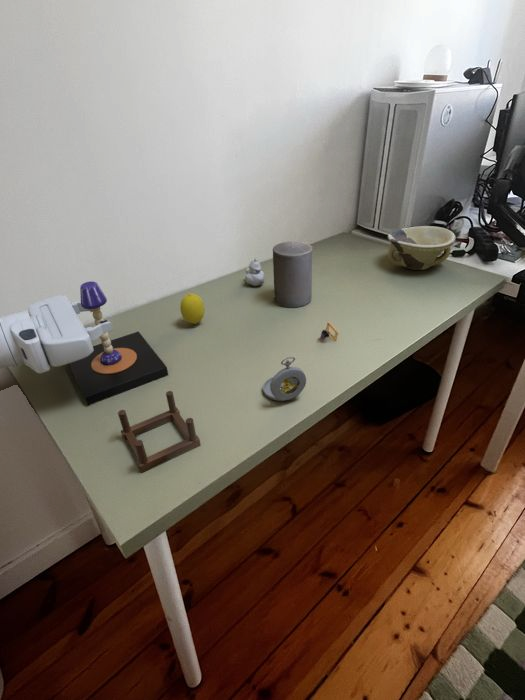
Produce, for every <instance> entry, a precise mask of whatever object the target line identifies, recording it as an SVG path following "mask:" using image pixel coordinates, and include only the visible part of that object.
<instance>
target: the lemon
mask: <svg viewBox="0 0 525 700" xmlns="http://www.w3.org/2000/svg"><path fill="white" fill-rule="evenodd" d="M179 309H180V315H181V316H182V318H183V320H184V321H186V322H187V323H189V324H193V325H196V324H197V323H199V322H201V321H202V320H203V319H204V317H205V311H206V310H205V309H206V308H205V304H204V302H203V300H202V298H201V297H200V296H199V295H197V294H195V293H191V292H190V293H187V294H186V295H184V296H183V297H182V299H181V301H180V307H179Z"/></svg>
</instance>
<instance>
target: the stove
mask: <svg viewBox="0 0 525 700" xmlns="http://www.w3.org/2000/svg"><path fill="white" fill-rule="evenodd" d="M110 341H111V345H112V347H113V350H117V351H118V352H120V354H121V355H122V358H121V360H120V361H119V362H117V363H115V364H113V365H103V364H102V363H101V361H100V358H101V355H102V354H103V353H104V352H105V351H104V346H103V345H102V342H101V343H98V344H95V345H92V346H93V349H94V351H93V352H92V353H91V354H90V355H89V356H88V357H86V358H83V359H80V360H78V361H75V362H72V363H69V364H68V367H69V368H70V370H71V373H72V375H73V378H74V379H75V381H76V384H77V386H78V388H79V391H80V393H81V394H82V397H83V399H84V401H85V403H86V406H88V407H89V406H91V405H93V404H96V403H98V402H101V401H104V400H106V399H109V398H111V397H114V396H117V395H120V394H122V393H124V392H127V391H130V390H132V389H135V388H138V387H140V386H143V385H146V384H149V383H151V382H153V381H157V380H159V379H161V378H164V377H167V376H169V371H168V367H167V365H166V364H165V363H164V362H163V360H162V359H161V358H160V356H159V355H158V354H157V353H156V352H155V350H154V349H153V347H151V345H150V344H149V343H148V341H147V340H146V339H145V338H144V336H143V335H142V334H141V332H140V331H138V330H137V331H135V332H132V333H129V334H125V335H123V336H120V337H117V338H114V339H110Z"/></svg>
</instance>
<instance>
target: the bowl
mask: <svg viewBox="0 0 525 700" xmlns="http://www.w3.org/2000/svg"><path fill="white" fill-rule="evenodd" d="M456 237H457V236H456V235H455V233H454V232H453V231H451V230H449V229H447V228H445V227H440V226H433V225H432V226H431V225H420V226H419V225H418V226H410V227H402V228H398V229H396V230H393V231H391V232H390V233H388V235H387V239H388V242H389V243H390V245H389V248H388V250H387V259H388V260H389V262H390V263H392V264H394V265H396V266H399V267H403V268H406V269H408V270H411V271H420V270H422V271H423V270H427V269H430V268H431V267H433V266H437V265H439V264H441V263H443V262H444V261H446V260H447V259H448V258H449V256H450V255H451V246H453V245H454V243H455V241H456V239H457V238H456ZM396 251H397V253H398V254H399V258H395V257H394V254H395V252H396Z"/></svg>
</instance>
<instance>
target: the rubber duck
mask: <svg viewBox="0 0 525 700" xmlns="http://www.w3.org/2000/svg"><path fill="white" fill-rule="evenodd" d="M260 263H261V262H259V260H258V259H256V257H254V259H253V260H251V261H250V263H249V264H248V268H246V269H245V276H244V279H245V282H246V283H247V284H249V285H251V286H253V287H258V286H260V285H262V284H264V282H265V279H266V276H265V273H264V271H263V270H262V266H261V264H260Z"/></svg>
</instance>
